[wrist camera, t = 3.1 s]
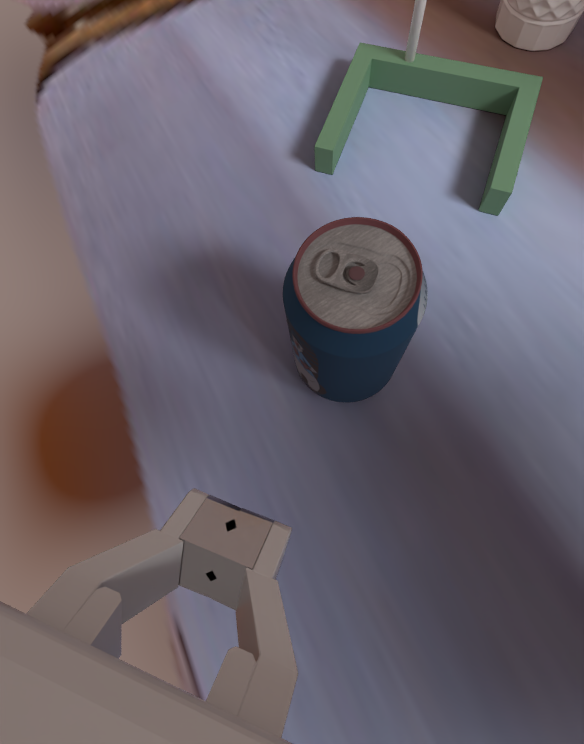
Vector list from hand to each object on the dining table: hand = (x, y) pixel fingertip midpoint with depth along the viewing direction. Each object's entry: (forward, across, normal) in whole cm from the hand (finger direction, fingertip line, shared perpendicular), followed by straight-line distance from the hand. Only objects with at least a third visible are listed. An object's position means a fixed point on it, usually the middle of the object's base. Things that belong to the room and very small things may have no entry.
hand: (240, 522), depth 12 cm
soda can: (+19, 0, +4) cm, 20 cm away
